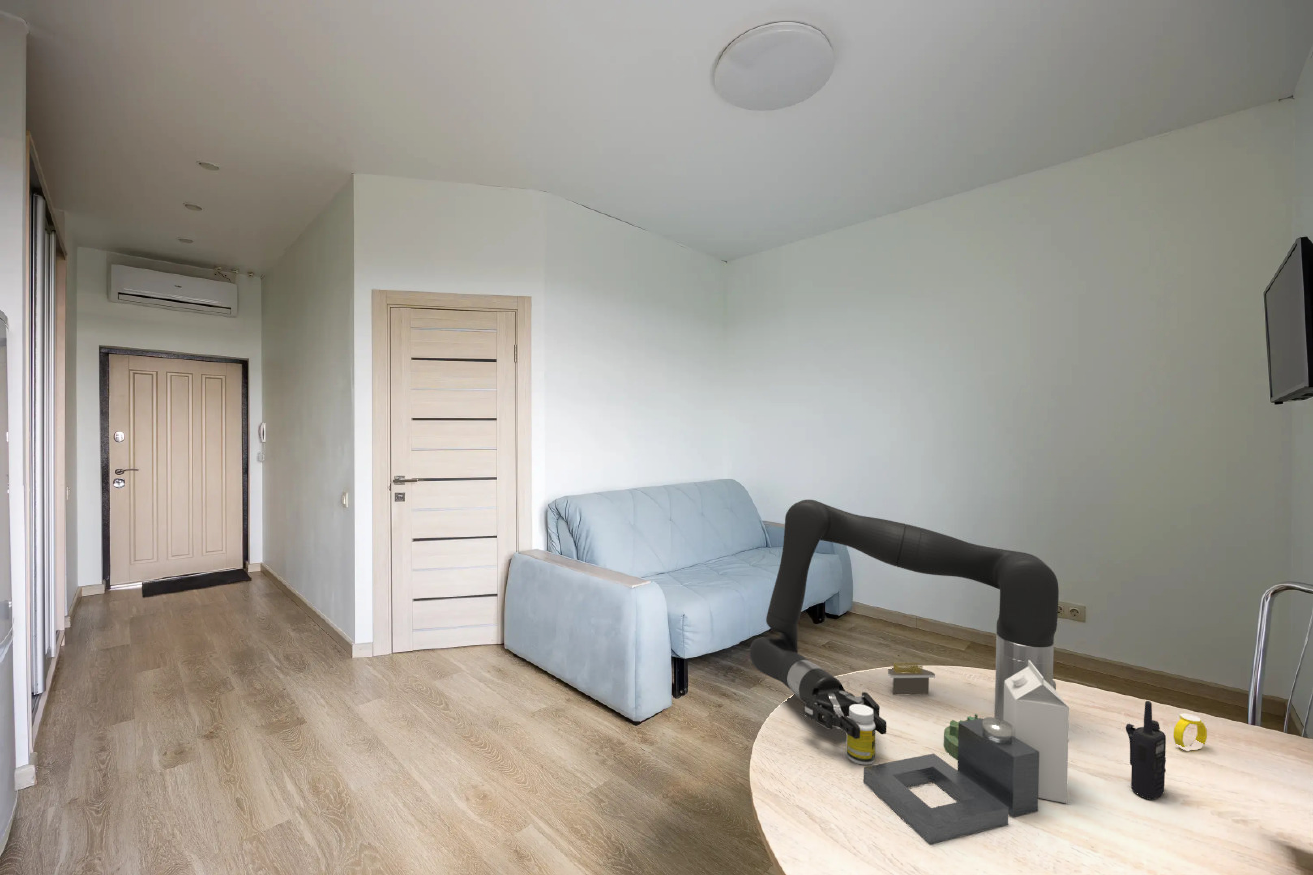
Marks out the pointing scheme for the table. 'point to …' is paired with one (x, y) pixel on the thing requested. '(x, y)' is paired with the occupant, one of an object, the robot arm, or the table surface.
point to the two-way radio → (1147, 756)
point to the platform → (910, 679)
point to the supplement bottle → (862, 735)
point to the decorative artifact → (954, 737)
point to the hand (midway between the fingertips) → (871, 730)
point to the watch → (1183, 723)
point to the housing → (964, 783)
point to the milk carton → (1040, 727)
